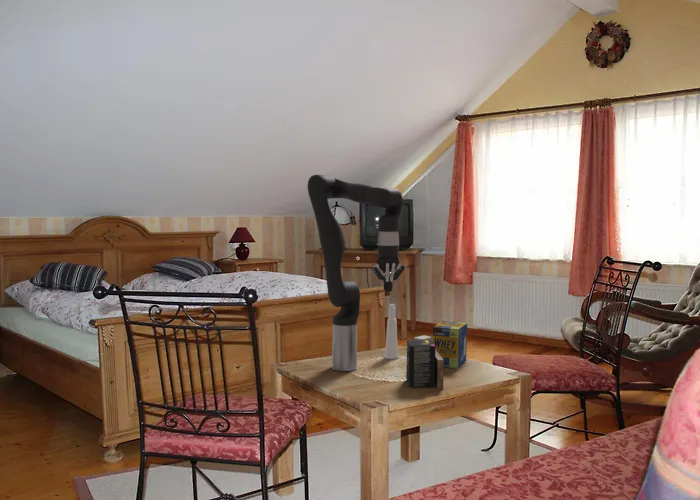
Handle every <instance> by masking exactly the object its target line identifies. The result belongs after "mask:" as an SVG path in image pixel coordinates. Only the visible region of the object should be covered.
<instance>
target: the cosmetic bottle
mask: <svg viewBox="0 0 700 500" xmlns="http://www.w3.org/2000/svg"><path fill="white" fill-rule="evenodd" d="M396 309H397V307H396V304H395V303H390V304H389V305H388V318H387V322H386V323H387V324H386V337H385V338H386V340H385V351H384V356H383V358H384V359H387V360H397V359H396V358H398V359H399V358H400V355H399V348H398V346H399V345H398V326H397V322H398V321H397V318H396Z"/></svg>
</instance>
